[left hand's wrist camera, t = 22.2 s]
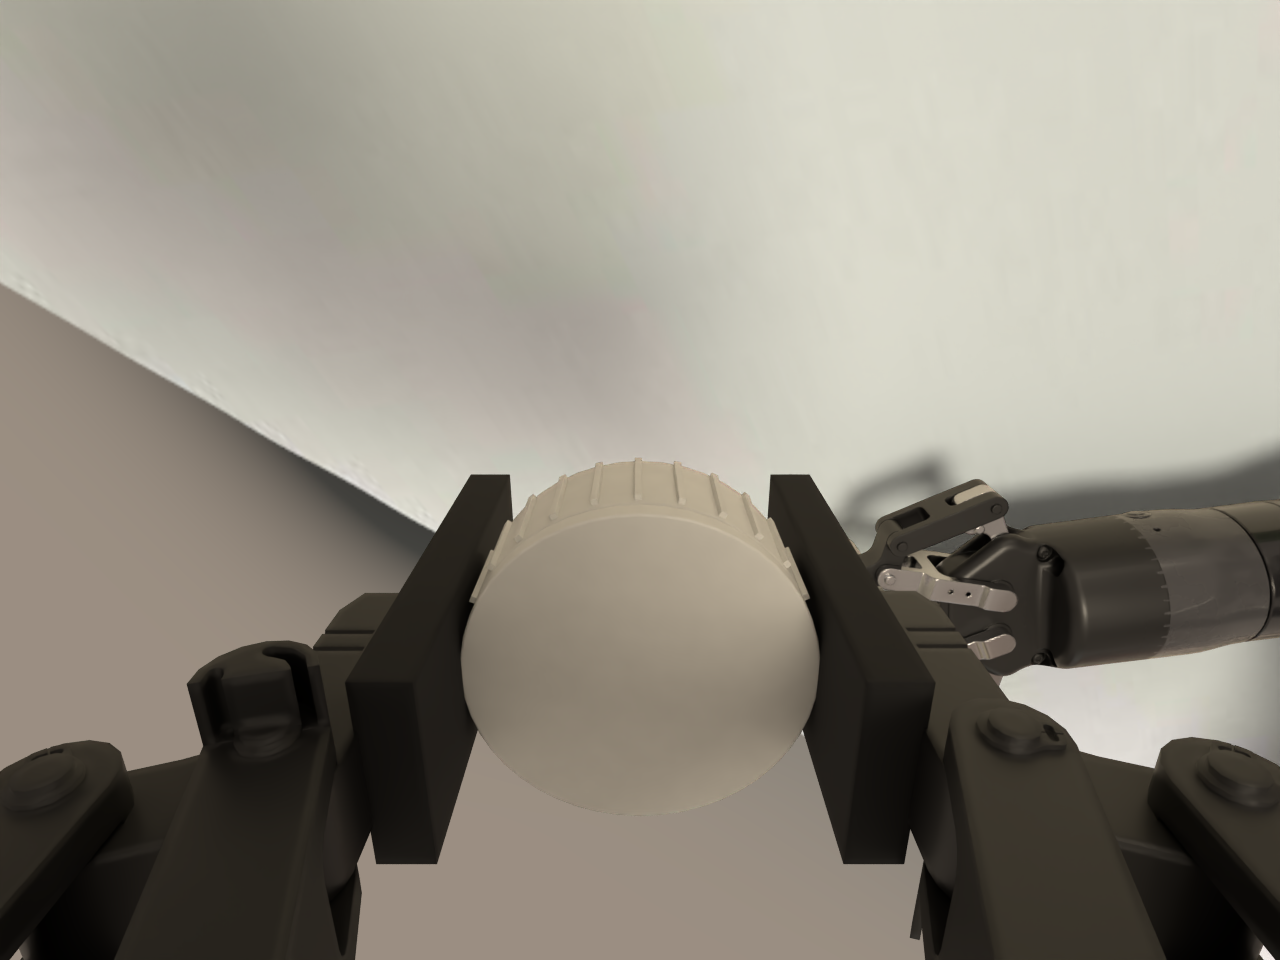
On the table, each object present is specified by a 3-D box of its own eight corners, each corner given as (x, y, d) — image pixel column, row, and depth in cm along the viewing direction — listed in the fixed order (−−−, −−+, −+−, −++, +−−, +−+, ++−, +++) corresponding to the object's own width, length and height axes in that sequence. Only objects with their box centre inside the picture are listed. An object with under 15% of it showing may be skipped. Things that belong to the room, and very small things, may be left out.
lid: (804, 713, 13) (832, 803, 11) (515, 743, 13) (494, 836, 11) (788, 436, 11) (819, 486, 9) (452, 476, 12) (414, 534, 10)
